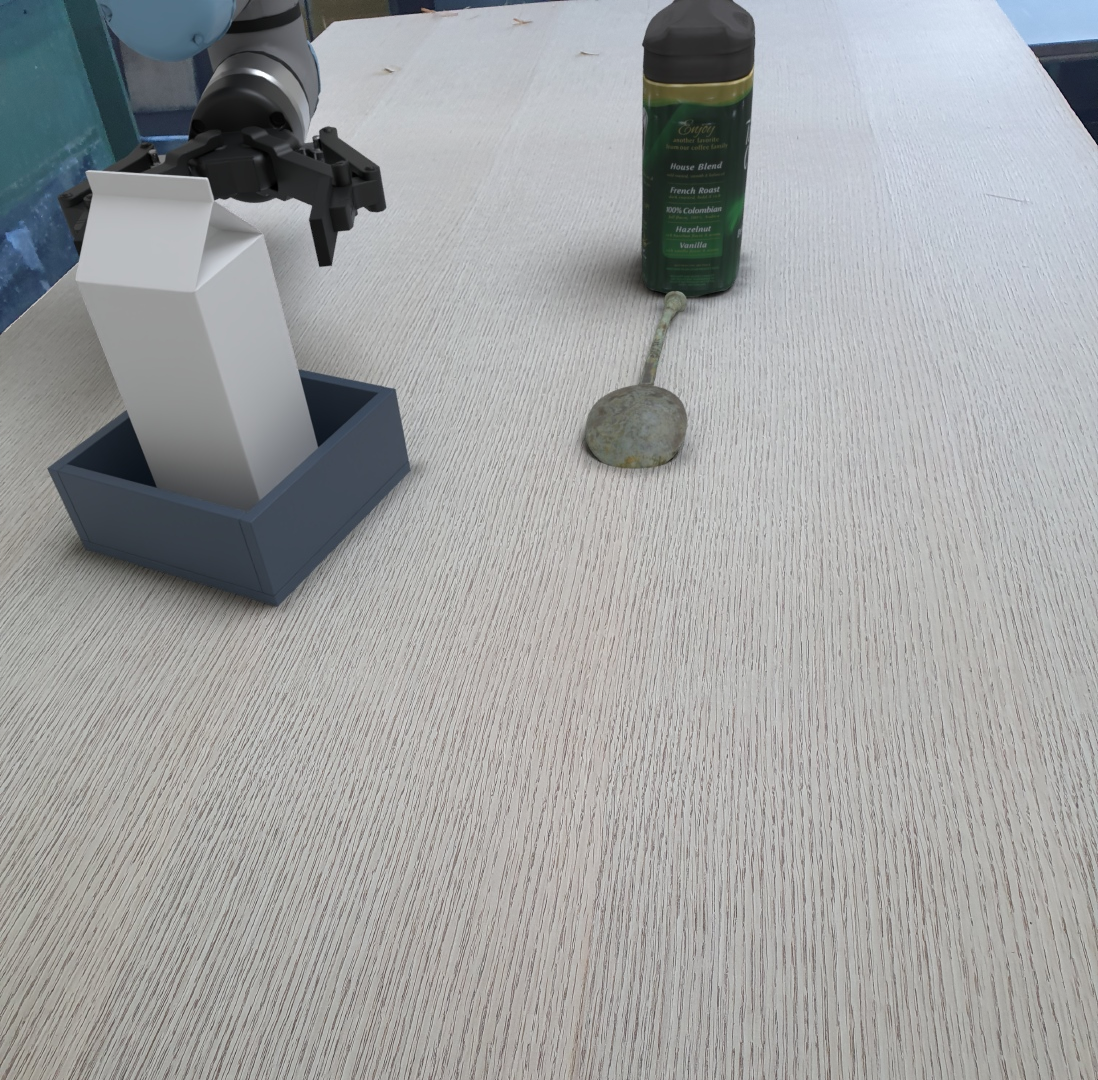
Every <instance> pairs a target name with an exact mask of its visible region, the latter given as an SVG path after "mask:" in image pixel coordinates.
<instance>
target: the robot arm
mask: <svg viewBox="0 0 1098 1080" xmlns="http://www.w3.org/2000/svg"><path fill="white" fill-rule="evenodd" d="M95 2H96V4H97V6H98V8H99V10H100V12H101V14H102V16H103V18H104V20H105V22H106V24H107V26H108V27H109V29H110V30H111V31H112V32H113V33H114V35H115V36H116V37H117V38H118V39H119V40H120V41H121V42H122V43H123V44H124V45H126V46H127V47H128V48H129V49H131V50H132V51H133V52H135V53H138V54H140V56H142V57H145V58H147V59H150V60H154V61H158V62H163V63H179V62H182V61H186V60H188V59H190V58H193V57H194V56H197V55H198V54H200V53H201V52H202V51H204V50H206V49H207V54H208V57H209V61H210V65H211V69H212V76H211V78H210V79H209V82H208V83H207V85H206V87H205V89H204V91H203V92H202V94H201V96H200V99H199V101H198V102H197V104H196V107H195V109H194V111H193V113H192V116H191V119H190V123H189V128H188V136H187V137H188V138H187V142H185V143H184V144H182V145H180V146H179V147H176V148H174V149H172V150H170V151H167V152H166V154H158V150H157V149H156V147H155V144H154V143H153V142H145V141H144V142H141V143H140V144H138V145H136V146H135V147H134V148H133V149H132V151H131V152H130V153H129V154H128V155H127V156H125V157H123V158H121V159H120V160H118V161H116V162H114V163H113V164H111V165H108V167H106V168H104V169H102V170H101V171H110V172H126V173H142V174H158V175H173V176H189V177H205V178H208V180H209V184H210V187H211V191H212V194H213V198H214V201H215V202H216V201H217V200H219V199H220V200H223V201H226V200H229V199H232V200H236V201H238V202H241V203H242V202H243V203H247V204H261V203H267V202H269V201H272V200H275V199H278V200H279V201H282V202H287V201H290V200H292V199H294V200H296V201H300V202H302V203H304V204H306V205H309V206H310V207H311V209H310V213H309V218H308V221H309V222H308V223H309V228H310V231H311V237H312V240H313V246H314V250H315V254H316V258H317V263H318V268H324V267H325V268H326V267H332V266H333V261H334V256H335V250H336V246H337V245H336V244H337V240H338V234H339V233H340V232H348V231H351V230H352V229H353V228H354V225H355V219H356V217H357V216H359V211H358V210H359V209H361V208H364V209H366V210H367V211H368V212H369V213H380V212H384V211H385V210H386V209H387V208H388V207H387V202H386V201H387V200H386V196H385V195H386V194H385V190H384V185H383V178H382V172H381V166H379V165H378V164H377V163H375V162H374V161H372V160H371V159H370V158H368V157H366V155H363V154H362V153H361V152H359V150H357V149H355V148H354V147H353V146H351V145H350V144H348V143H347V142H345V141H344V140H342V138H340V137H339V133H338V129H337V127H335V126H330V125H329V126H324V127H322V128H320V129H319V131H318V134H315V135H313V136H312V138H311V139H312V141H311V142H306V141H307V137H308V134H309V129H310V125H311V121H312V119H313V117H314V116H315V113H316V112H317V109H318V104H319V102H320V98H319V96H320V94H321V92H322V84H321V71H320V63H319V60H318V56H317V54H316V51H315V48H314V47H313V45H312V43H311V42H310V40H309V39H308V38H307V32H306V26H305V23H304V17H303V12H302V11H301V6H300V1H299V0H95ZM92 196H93V193H92V190H91V187H90V184H89V181H88V179H87V178H86V179H84V180H83V181H81V182H80V183H78V184H76V185H74V186H72V187H71V188H69V189H67V190H65V191H63V192H61V193H60V194H58V195H57V201H58V203H59V206H60V209H61V211H62V214H63V217H64V219H65V222H66V224H67V226H68V229H69V233H70V235H71V237H72V239H73V240H72V241H73V242H72V243H73V246H74V247H75V250H76V252H77V253H76V254H77V255H78V258H79V259H80V254H81V249H82V244H83V239H84V234H85V230H86V225H87V220H88V215H89V210H90V205H91V201H92Z"/></svg>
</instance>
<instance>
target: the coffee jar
mask: <svg viewBox="0 0 1098 1080" xmlns="http://www.w3.org/2000/svg"><path fill="white" fill-rule="evenodd" d="M641 47H643V56H642V57H643V59H642V107H641V108H642V114H641V115H642V120H641V121H642V122H641V123H642V126H641V127H642V129H641V131H642V132H641V134H642V136H641V149H642V150H641V152H642V153H641V199H642V200H641V235H640V239H641V241H640V242H641V243H640V244H641V245H640V247H641V248H640V249H641V251H640V253H641V254H640V259H641V261H640V263H641V265H640V267H641V268H640V269H641V272H640V273H641V278H642V282H643V284H644V285H645V286H646V288H647V289H649V290H651V291H656V292H660V293H663V294H666V295H667V294H668V293H669V292H672V291H674V292H675V291H679V292H682V293H683V294H684V295H685V297H686V298H694V297H702V296H705V295H708V294H709V295H710V294H714V293H718V292H724V291H727V290H728V289H729V288H731V287H732V286H733V284H734V283H735V282H736V280H737V277H738V273H739V270H740V263H741V262H740V261H741V250H742V243H743V242H742V240H743V229H744V228H743V226H744V214H745V213H744V212H745V201H746V190H747V179H748V169H749V156H750V145H751V143H750V142H751V130H752V129H751V127H752V115H753V99H754V97H753V96H754V76H755V75H754V74H755V63H756V62H755V60H756V59H755V57H756V56H755V51H756V50H755V49H756V24H755V20H754V17H753V15H752V14H751V12H749V11H747V9H745V8H744V7H742V6H741V5H740V4H738V3H737V2H735V1H734V0H673V1H672V2H671V3H670V4H669V5H667V6H665V7H663V8H662V9H661V10H659V11H658V12H657V13H655V15H653V16H652V17H651V20H650V21H649V22H648V25H647V26H646V30H645V33H644V36H643V40H642V43H641Z"/></svg>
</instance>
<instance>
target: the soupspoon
mask: <svg viewBox="0 0 1098 1080" xmlns="http://www.w3.org/2000/svg"><path fill="white" fill-rule="evenodd" d="M663 305H664V308H663V310H662V316H661V318H660V320H659V322H658V325H657V327H656V330H655V333H654V337H653V339H652V343H651V346H650V349H649V352H648V355H647V358H646V361H645V364H644V366H643V370H642V374H641V377H640V380H639V384H633V385H627V386H624V387H621V388H617V389H615V390H612V391H611V392H608V393H606V394H605V395H603V396H602V397H600V398H599V399H598V400H597V401H595V403H594V404H593V406H591V408H590V410H589V412H588V415H587V418H586V423H585V431H584V432H585V433H584V437H585V442H586V444H587V446H588V448H589V449H590V451H591V452H592V454H593V456H594V457H596V459H597V460H598V461H600V462H601V463H602V464H604V465H607V466H609V467H613V468H619V469H630V470H631V469H634V470H639V469H652V468H656V467H661V466H663V465H665V464H667V463H668V462H669V461H670V460H671V459H673V458H675V456H676V454H677V453H678V451H679V450H680V448H681V446H682V444H683V442H684V440H685V437H686V433H687V428H688V414H687V411H686V407H685V405H684V403H683V401H682V400H681V399H680V397H678V396H677V395H676V394H675V393H673V392H672V391H671V390H669V389H666V388H664V387H660V386H657V385H655V378H656V374H657V369H658V365H659V361H660V357H661V354H662V350H663V346H664V343H665V338H666V334H667V330H668V328H669V325H670V322H671V319H673V318H674V317H675V316H676V314H677V313H683V312H684V311H685V310H686V308H687V306H688V300H687V297H685V295H684V294H683V293H682V292H679V291H675V292H674V291H672V292H669V293H668V294H667V293H666V295H665V296H664V298H663Z"/></svg>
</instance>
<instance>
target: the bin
mask: <svg viewBox="0 0 1098 1080" xmlns="http://www.w3.org/2000/svg"><path fill="white" fill-rule="evenodd" d="M298 371H299V375H300V379H301V383H302V387H303V391H304V395H305V398H306V402H307V406H308V410H309V414H310V418H311V422H312V426H313V430H314V434H315V438H316V442H317V446H318V448H317V449H316V450H315V451H314V452H313V453H312V454H311V455H310V456H309V457H307V458H306V459H305V460H304V461H303V462H302V463H301V464H300V465H299V466H298V467H296V468H295V469H294V470H293V471H292V472H291V473H290V474H289V475H288V476H287V477H286V478H284V479H283V480H282V481H281V482H280V483H279V484H278V485H277V486H276V487H275V488H273V489H272V490H271V491H270V492H269V493H268V494H267V495H266V496H265V497H264V498H262V499H261V500H260V501H259V502H258V503H257V504H256V505H255V506H254V507H253V508H251V509H250V510H249V511H248V512H246V511H242V510H238V509H235V508H231V507H227V506H223V505H220V504H216V503H212V502H208V501H204V500H201V499H197V498H193V497H189V496H185V495H182V494H178V493H174V492H170V491H167V490H163V489H159V488H157V486H156V484H155V481H154V479H153V476H152V473H151V471H150V468H149V466H148V463H147V461H146V458H145V456H144V453H143V450H142V448H141V445H140V443H139V440H138V438H137V435H136V433H135V430H134V428H133V425H132V422H131V420H130V417H129V415H128V412H127V410H126V409H125V410H124V411H123V412H122V413H120V414H118V415H117V416H116V417H114V418H113V419H112V420H110V421H109V422H108V423H106V424H105V425H104V426H102V427H101V428H100V429H98V430H97V431H95V432H94V433H92V434H91V435H90V436H88V437H87V438H86V439H84V440H83V441H82V442H80V443H79V444H78V445H76V446H75V447H74V448H72V449H71V450H69V451H68V452H67V453H66V454H64V455H63V456H61V457H60V458H59V459H57V460H56V461H54V463H52V464H50V465H49V466H47V471H48V473H49V476H50V478H51V480H52V482H53V484H54V486H55V488H56V491H57V493H58V495H59V498H60V499H61V501H62V504H63V505H64V508H65V510H66V512H67V514H68V516H69V518H70V520H71V523H72V525H73V527H74V529H75V531H76V533H77V535H78V537H79V539H80V541H81V544H82V546H83V548H84V550H86V551H89V552H92V553H96V554H99V555H103V556H106V557H109V558H112V559H116V560H119V561H122V562H126V563H130V564H133V565H136V566H139V567H142V568H146V569H149V570H153V571H155V572H160V573H162V574H166V575H168V576H169V575H170V576H173V577H176V578H180V579H183V580H185V581H186V580H187V581H190V582H193V583H195V584H199V585H203V586H206V587H210V588H213V589H215V590H220V591H223V592H226V593H230V594H234V595H236V596H240V597H243V598H247V599H249V600H254V601H256V602H260V603H262V604H263V603H264V604H267V605H269V606H273V607H280V605H281V604H282V603H283V602H284V601H285V600H286V599H287V598H288V597H289V596H290V595H291V594H292V593H293V592H294V591H295V590H296V589H297V588H298V587H299V586H300V585H301V584H302V583H303V582H304V581H305V580H306V579H307V577H309V576H310V575H311V574H312V573H313V571H314V570H315V569H316V568H317V567H318V566H319V565H320V564H321V563H322V562H323V561H324V560H326V558H327V557H328V556H329V555H330V554H332V552H333V551H334V550H335V549H336V548H337V547H338V546H339V545H340V544H341V543H342V541H344V540H345V539H346V537H348V536H349V535H350V534H351V533H352V531H354V529H355V528H356V527H357V526H359V525H360V524H361V522H362V521H363V520H364V519H365V518H367V516H368V515H369V514H370V513H371V512H372V511H373V510H374V509H375V508H376V507H377V506H378V505H379V504H380V503H381V502H382V501H383V499H385V498H386V497H387V495H389V494H390V493H391V492H392V491H393V489H394V488H396V486H397V485H398V484H399V483H400V482H401V481H402V480H404V478H405V477H406V476H407V475H408V474H409V473H410V472H411V471H412V470H411V466H410V465H411V464H410V460H409V455H408V454H409V453H408V449H407V444H406V437H405V432H404V427H403V421H402V416H401V411H400V406H399V405H400V404H399V401H398V400H399V399H398V394H397V390H396V388H393V387H388V386H384V385H380V384H374V383H370V382H364V381H359V380H354V379H349V378H345V377H340V376H336V375H335V376H334V375H330V374H324V373H319V372H315V371H309V370H305V369H300V368H298Z"/></svg>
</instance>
